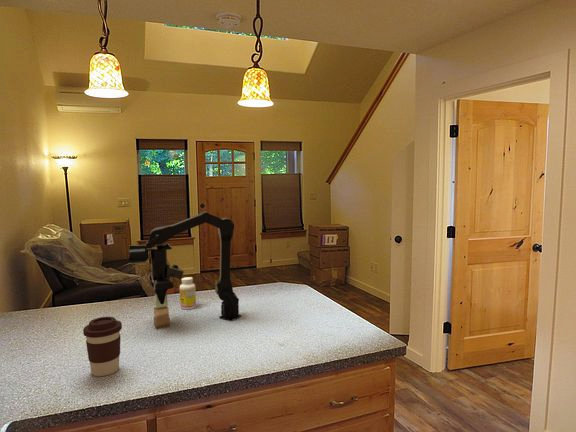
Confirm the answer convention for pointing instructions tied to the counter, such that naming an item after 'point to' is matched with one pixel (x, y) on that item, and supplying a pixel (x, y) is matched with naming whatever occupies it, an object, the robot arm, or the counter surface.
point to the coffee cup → (103, 345)
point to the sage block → (157, 302)
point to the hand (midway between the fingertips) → (161, 302)
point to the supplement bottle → (187, 294)
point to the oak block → (161, 312)
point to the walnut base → (161, 323)
